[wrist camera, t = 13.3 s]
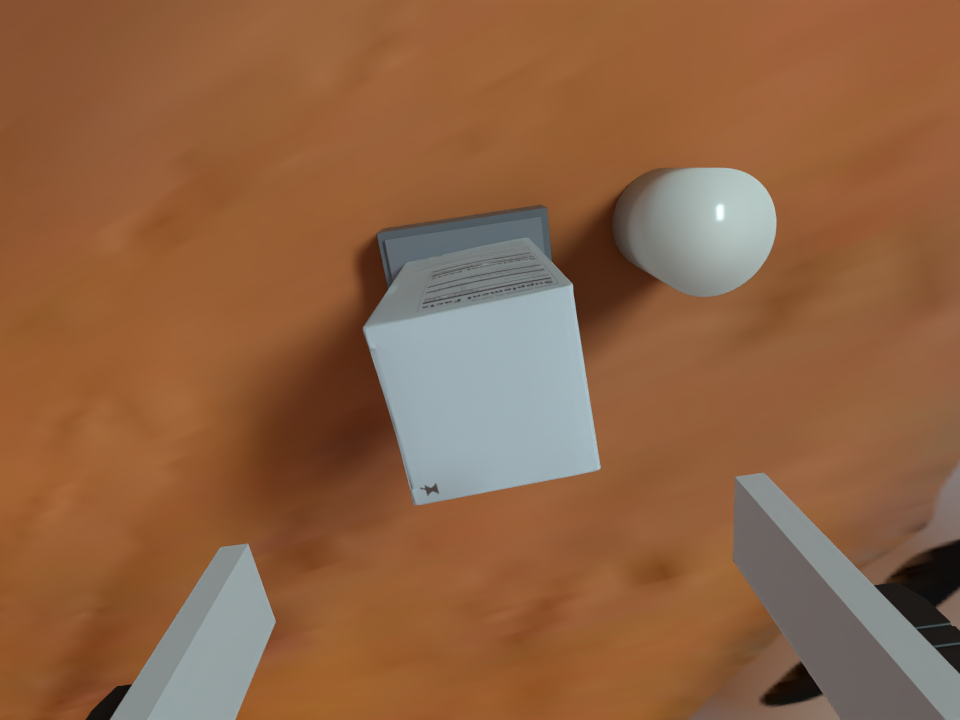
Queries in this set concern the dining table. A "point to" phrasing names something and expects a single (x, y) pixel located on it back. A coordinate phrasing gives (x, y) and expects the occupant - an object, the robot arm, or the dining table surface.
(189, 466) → the dining table surface
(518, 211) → the plate
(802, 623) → the robot arm
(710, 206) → the white rounded knob
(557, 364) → the supplement box
